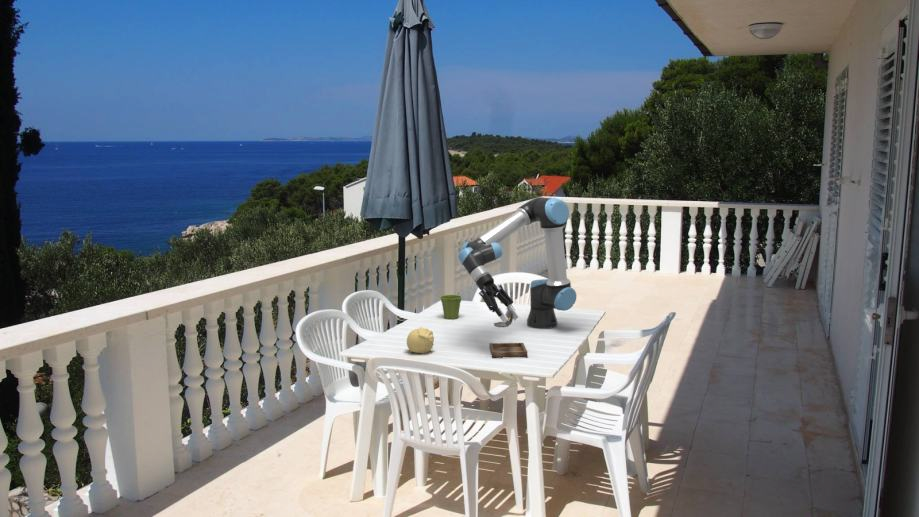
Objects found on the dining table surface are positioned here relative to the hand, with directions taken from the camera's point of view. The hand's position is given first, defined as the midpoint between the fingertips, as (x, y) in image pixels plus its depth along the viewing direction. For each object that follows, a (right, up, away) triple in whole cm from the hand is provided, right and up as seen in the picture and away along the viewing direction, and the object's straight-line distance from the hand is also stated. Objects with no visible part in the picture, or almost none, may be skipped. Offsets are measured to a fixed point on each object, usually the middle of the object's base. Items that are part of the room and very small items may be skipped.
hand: (511, 319), depth 323 cm
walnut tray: (-1, -15, +4) cm, 15 cm away
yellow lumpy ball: (-39, -15, +8) cm, 43 cm away
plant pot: (-27, -5, +73) cm, 78 cm away
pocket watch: (-3, -3, +3) cm, 5 cm away
